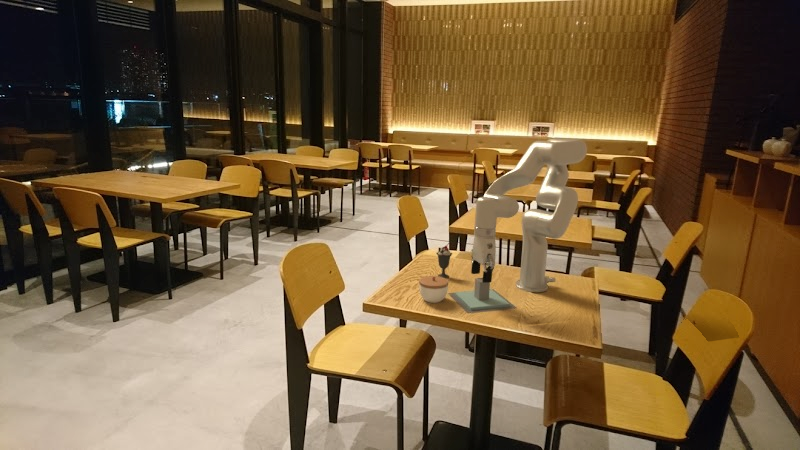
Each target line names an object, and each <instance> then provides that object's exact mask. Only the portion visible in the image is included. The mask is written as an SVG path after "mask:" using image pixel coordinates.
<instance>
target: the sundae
mask: <svg viewBox="0 0 800 450" xmlns="http://www.w3.org/2000/svg"><path fill="white" fill-rule="evenodd" d="M448 245H450V243H449V242H448V243H447V244H446V245H444V246H442V247H438V251H437V252H436V255H437V259H438V265H439V267H440V268H441V273H440V274H437V276H439V277H443V278H445V279H449V278H450V275H449V274H446V269H447V268H448V267H449V265H450V261H451V257H452V255H453V252H451V251H450V250H449V247H448Z"/></svg>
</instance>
